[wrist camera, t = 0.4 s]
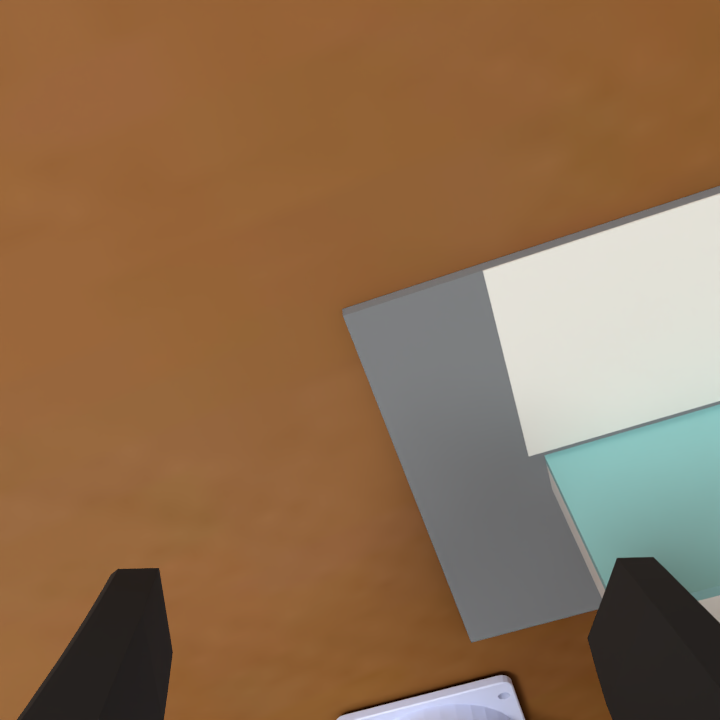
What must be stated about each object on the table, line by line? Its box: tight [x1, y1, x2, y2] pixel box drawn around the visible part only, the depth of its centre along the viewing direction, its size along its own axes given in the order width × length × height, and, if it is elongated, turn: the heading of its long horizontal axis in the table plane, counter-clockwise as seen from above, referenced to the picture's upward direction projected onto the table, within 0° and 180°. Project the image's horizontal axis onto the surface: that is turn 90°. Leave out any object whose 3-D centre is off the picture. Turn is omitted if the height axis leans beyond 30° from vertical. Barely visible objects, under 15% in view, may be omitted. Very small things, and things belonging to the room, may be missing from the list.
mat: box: [342, 186, 720, 642], centre depth 22 cm, size 16×18×1 cm
